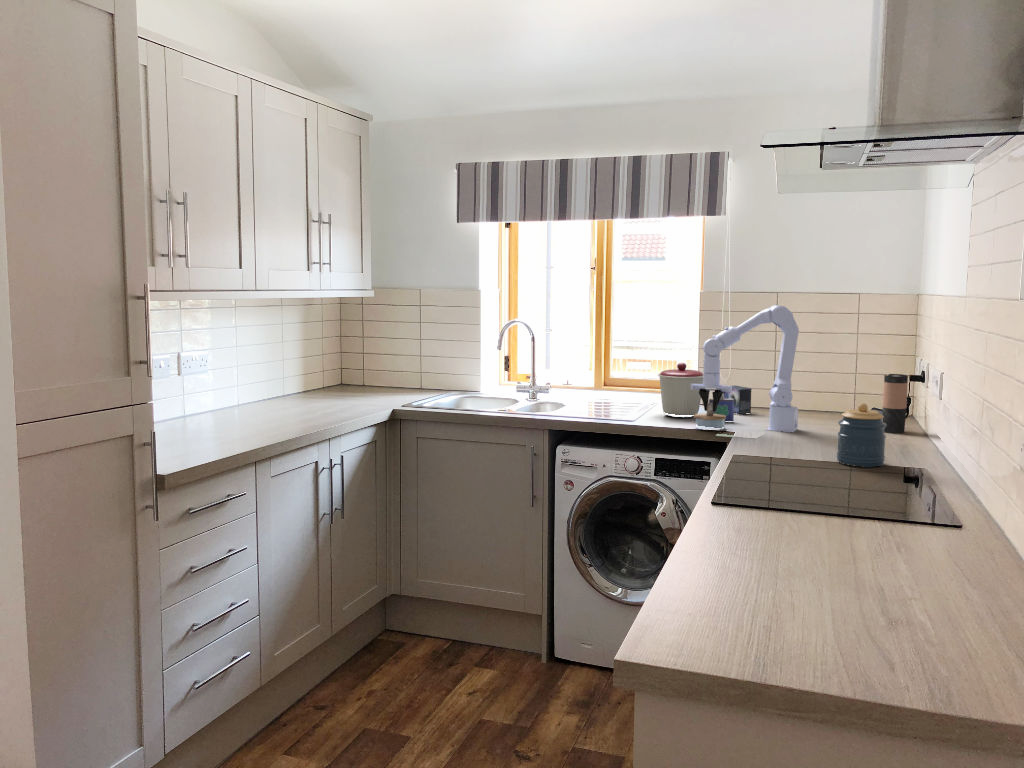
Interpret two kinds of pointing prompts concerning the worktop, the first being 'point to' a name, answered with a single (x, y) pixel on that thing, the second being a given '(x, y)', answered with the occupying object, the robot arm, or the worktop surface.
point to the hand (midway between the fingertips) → (710, 410)
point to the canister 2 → (861, 437)
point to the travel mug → (895, 402)
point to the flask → (725, 408)
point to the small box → (740, 399)
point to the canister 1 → (680, 390)
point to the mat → (724, 435)
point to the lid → (710, 414)
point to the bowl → (710, 423)
